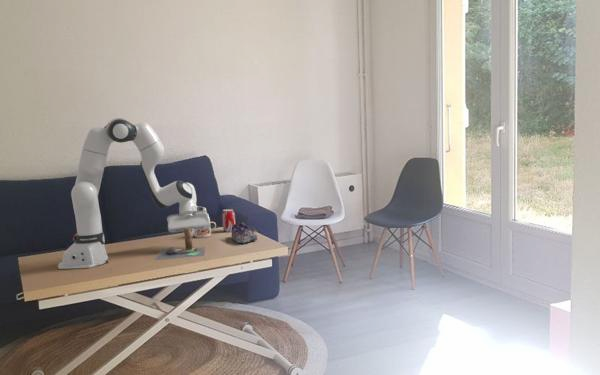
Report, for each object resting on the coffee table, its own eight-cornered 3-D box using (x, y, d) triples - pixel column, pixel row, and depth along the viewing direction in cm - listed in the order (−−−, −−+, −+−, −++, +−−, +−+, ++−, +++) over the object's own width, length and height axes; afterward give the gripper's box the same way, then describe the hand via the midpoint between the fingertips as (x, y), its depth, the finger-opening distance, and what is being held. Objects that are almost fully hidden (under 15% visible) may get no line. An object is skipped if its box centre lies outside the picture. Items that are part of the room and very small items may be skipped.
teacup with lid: (196, 238, 310) (194, 217, 308) (193, 235, 318) (191, 214, 317) (218, 235, 314) (216, 214, 312) (215, 232, 322) (213, 212, 321)
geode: (223, 239, 306) (224, 220, 306) (244, 238, 311) (244, 220, 311) (238, 244, 288) (238, 224, 288) (259, 243, 293) (260, 224, 293)
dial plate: (155, 263, 264) (155, 259, 264) (159, 254, 281) (159, 250, 280) (204, 258, 266) (204, 255, 266) (205, 250, 283) (205, 246, 283)
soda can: (233, 232, 320) (232, 211, 319) (221, 232, 322) (219, 211, 320) (237, 229, 327) (236, 208, 325) (225, 229, 329) (224, 208, 327)
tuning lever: (164, 254, 273) (162, 230, 271) (167, 251, 277) (165, 228, 275) (196, 252, 272) (194, 228, 270) (198, 250, 276) (196, 226, 274)
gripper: (166, 211, 279) (167, 236, 271) (208, 207, 282) (210, 231, 274) (167, 218, 284) (168, 243, 276) (209, 214, 287) (211, 238, 279)
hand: (190, 237), depth 275 cm, fingers closed
